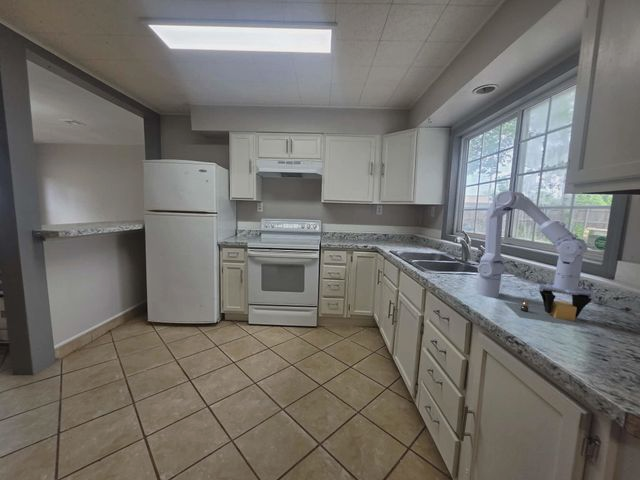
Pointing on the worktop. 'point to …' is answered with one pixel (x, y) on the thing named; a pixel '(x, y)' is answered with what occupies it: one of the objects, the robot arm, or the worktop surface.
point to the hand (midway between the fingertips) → (560, 314)
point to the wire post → (524, 307)
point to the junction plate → (541, 315)
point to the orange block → (563, 310)
